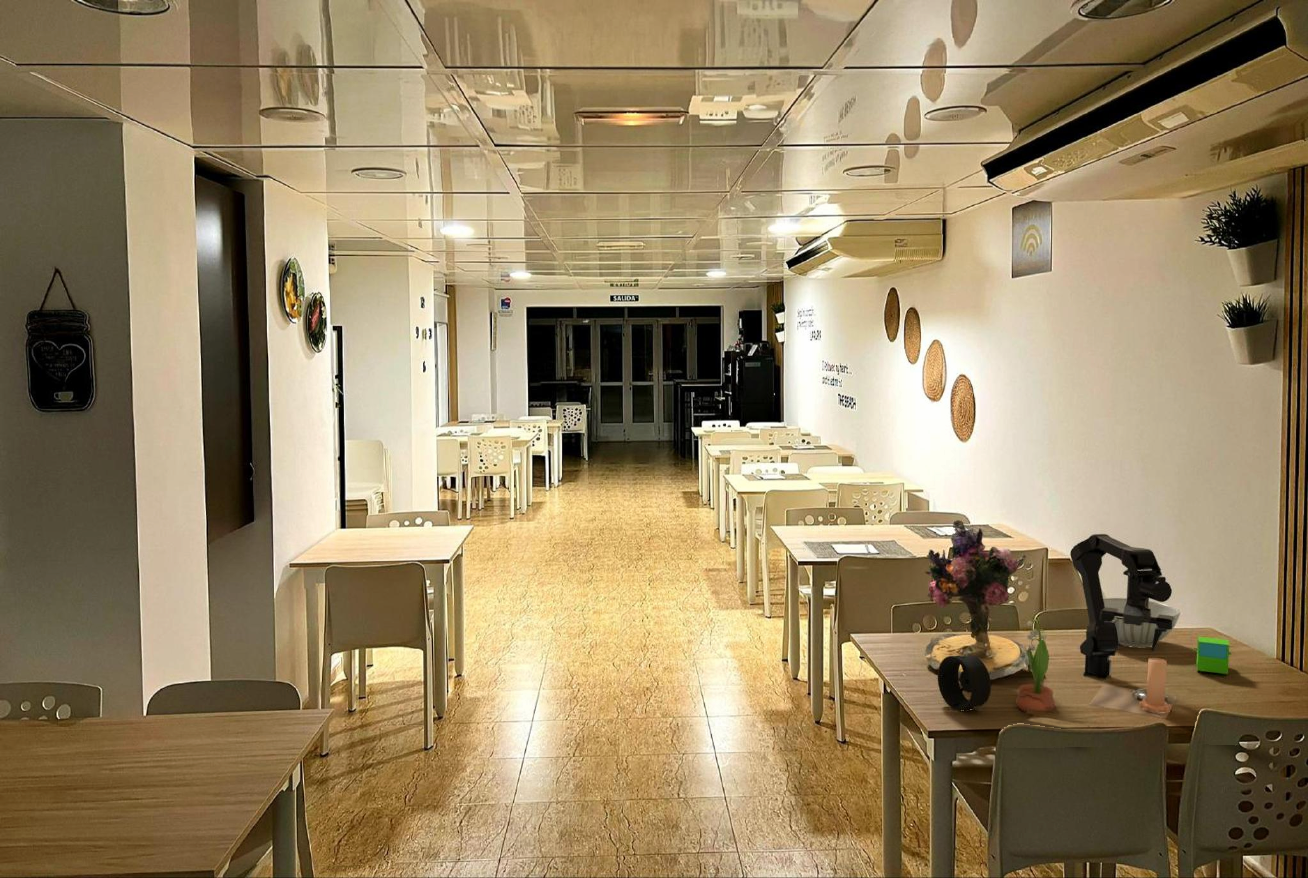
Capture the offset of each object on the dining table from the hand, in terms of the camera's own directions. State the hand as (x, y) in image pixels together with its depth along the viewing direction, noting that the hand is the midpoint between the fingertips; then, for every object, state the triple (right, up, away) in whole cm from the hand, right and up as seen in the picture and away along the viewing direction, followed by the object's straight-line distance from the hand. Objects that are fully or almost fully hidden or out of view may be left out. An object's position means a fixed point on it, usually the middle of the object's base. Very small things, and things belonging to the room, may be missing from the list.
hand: (1135, 648), depth 305 cm
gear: (0, -12, -8) cm, 15 cm away
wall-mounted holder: (-51, -14, -12) cm, 54 cm away
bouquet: (-37, -11, +23) cm, 45 cm away
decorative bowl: (+23, -9, +53) cm, 58 cm away
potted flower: (-33, -14, -13) cm, 38 cm away
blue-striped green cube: (+34, -12, +24) cm, 43 cm away
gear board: (-5, -14, -10) cm, 18 cm away
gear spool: (-2, -13, -17) cm, 21 cm away
